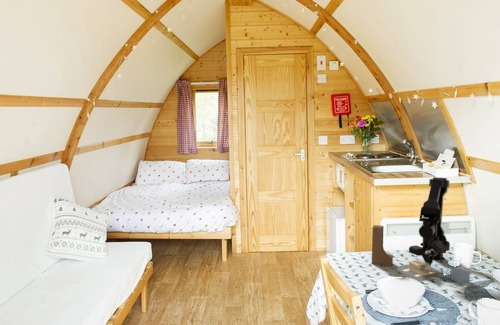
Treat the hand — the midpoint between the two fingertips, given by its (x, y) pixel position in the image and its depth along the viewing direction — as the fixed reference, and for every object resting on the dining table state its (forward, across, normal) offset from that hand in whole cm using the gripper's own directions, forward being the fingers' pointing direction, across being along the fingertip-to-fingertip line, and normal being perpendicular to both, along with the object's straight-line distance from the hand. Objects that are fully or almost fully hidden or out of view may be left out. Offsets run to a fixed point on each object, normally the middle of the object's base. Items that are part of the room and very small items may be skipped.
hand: (428, 266), depth 197 cm
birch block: (+1, -5, 0) cm, 6 cm away
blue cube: (+2, +2, -15) cm, 15 cm away
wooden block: (+2, -13, +15) cm, 20 cm away
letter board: (+2, -5, 0) cm, 6 cm away
